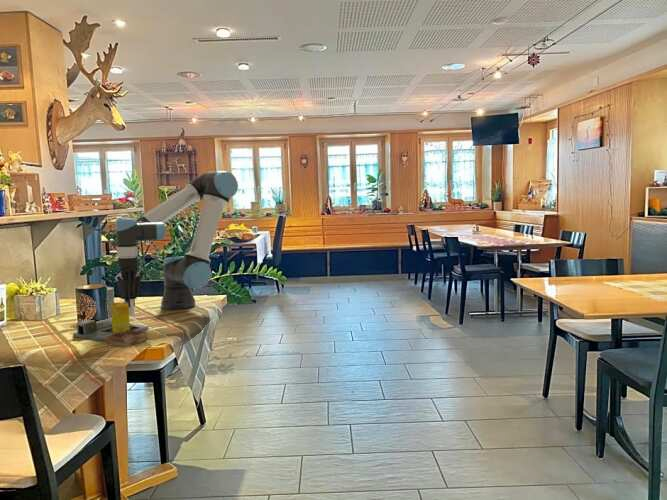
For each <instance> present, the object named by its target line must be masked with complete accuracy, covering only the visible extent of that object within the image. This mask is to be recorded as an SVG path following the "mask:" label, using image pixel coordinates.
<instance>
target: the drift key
mask: <svg viewBox="0 0 667 500" xmlns="http://www.w3.org/2000/svg"><path fill="white" fill-rule="evenodd" d="M111 324H112V318H108V319H105V320H99V321H96V325H97V328H101V327H104V326H108V325H111Z"/></svg>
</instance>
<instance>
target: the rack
mask: <svg viewBox="0 0 667 500" xmlns="http://www.w3.org/2000/svg"><path fill="white" fill-rule="evenodd" d="M147 340H148V332H146V331H142V332H140V331H133V329H130V330H124V331H121V332H118V333H114V334H111V335H108V336H105V342H104V343H105V345H110V344H111V345H110V346H116V345H118V346H117V347H122V346H124V347H123V348H128V347H130V345H131V346H133V345H136V344H139V343H142V342H145V341H147ZM127 346H128V347H127Z"/></svg>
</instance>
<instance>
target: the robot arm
mask: <svg viewBox="0 0 667 500" xmlns="http://www.w3.org/2000/svg"><path fill="white" fill-rule="evenodd" d="M238 189H239V184H238V180H237V178H236V176H235V175H234V174H233V173H232V172H229V171H225V170H218V171H207V172H203V173H202V174H200V175H199V176H197V177H195V178H194V179H192V180H191V181H189V182H188V183H186V184H185V185H184V188H183V189H181V190H180V191H178V192H176V193H175V194H174V195H172V196H170V197H169V198H168V199H166V200H165V201H162V202H161V203H160V204H158V205H157V206H155V207H154V208H152V209H151V210H149V211H147V212H146V213H145V214H143V215H142V216H140V217H138V218H137V219H136V218H135V217H127V218H126V217H125V218H124V217H123V218H122V217H121V218H120V217H119V218H117V219H116V221H115V235H116V236H115V237H116V252H117V253H116V254H117V257H118V258H117V267H118V268H119V269H118V274H117V275H115V276H113V280H114V282H115V284H116V287H117V291H118V295H119V299H121V300H124V302H128V305H129V317H132V316H133V317H134V316H135V306H136V301H135V300H137V297H139V295H140V290H141V289H140V288H141V282H142V278H143V275H144V274H143V273H144V272H141V271H139V270H138V269H139V268H138V266H139V257H138V254H139V252H138V242H146V241H159V240H160V241H162V240H164V239H165V238H166V236H167V227H166V225H165V223H166V222H167V221H168V220H170V219H171V218H172V217H174V216H176V215H177V214H179V213H180V212H181V211H183V210H185V209H186V208H188V207H189V206H190V205H192V204H194V203H200V201H202V200H204V204H203V207H202V210H201V212H200V215H199V216H200V217H199V219H198V223H197V226H196V229H195V231H194V235H193V238H192V241H191V246H190V248H189V251H187V252H185V253H184V255H183V256H172V257H166V258H164V259H163V265H162V266H163V285H164V291H163V295H162V298H161V302H160V306H161V309H164V310H184V309H189V308H193V307H195V306H196V298H195V297H194V293H193V291H192V289H201V288H203V287H205V286H207V284H208V283H209V282H210V281H211V278H212V270H211V269H212V268H211V267H210V265H211V262H212V261H211V259H210V257H209V256H210V254H211V249H212V246H213V243H214V240H215V237H216V234H217V230H218V226H219V223H220V222H221V221H220V220H221V217H222V215H223V211H224V207H225V206H227V205H229V202H230V199H231V198H232V197H233V196H235V195H236V193H238Z"/></svg>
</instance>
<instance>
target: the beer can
mask: <svg viewBox="0 0 667 500" xmlns="http://www.w3.org/2000/svg"><path fill="white" fill-rule="evenodd" d="M106 287H107V296H108V297H107V305H108V315H109V318H112V314H111V303H115V292H114V289H115V288H114V287H112V286H106Z"/></svg>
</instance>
